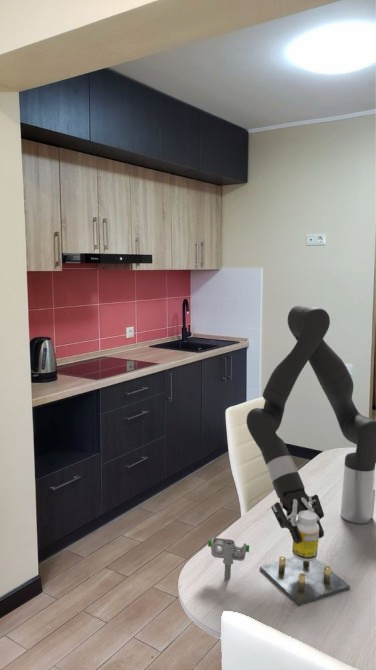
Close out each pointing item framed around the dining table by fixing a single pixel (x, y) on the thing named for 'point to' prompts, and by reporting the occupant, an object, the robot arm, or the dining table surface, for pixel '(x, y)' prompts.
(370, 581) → the dining table surface
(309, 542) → the pill bottle
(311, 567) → the plate
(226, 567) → the mechanical component
